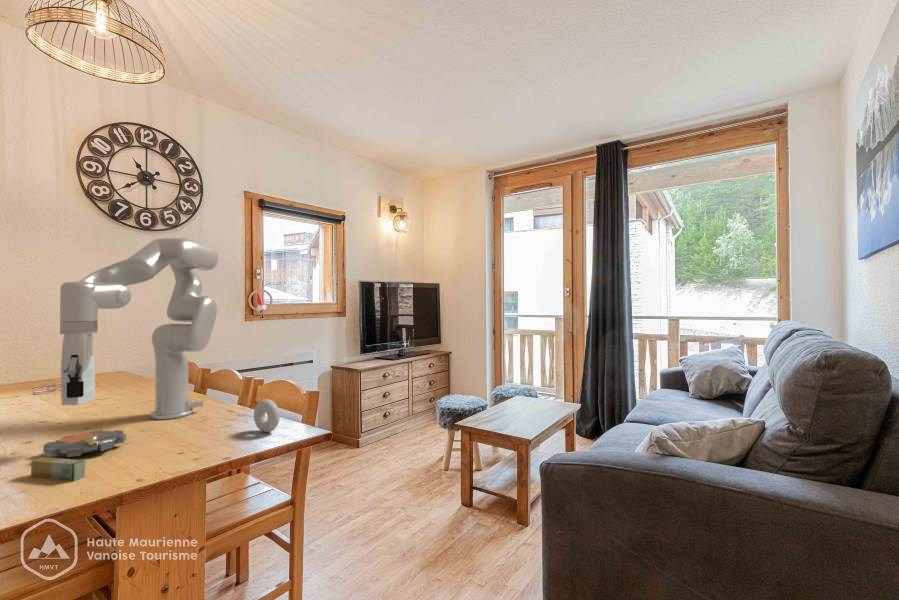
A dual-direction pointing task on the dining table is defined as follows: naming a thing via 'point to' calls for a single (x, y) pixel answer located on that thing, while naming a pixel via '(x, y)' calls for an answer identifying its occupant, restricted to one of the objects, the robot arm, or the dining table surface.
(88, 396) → the skincare box
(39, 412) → the dining table surface
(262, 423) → the donut
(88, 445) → the notched metal plate
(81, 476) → the medication box
